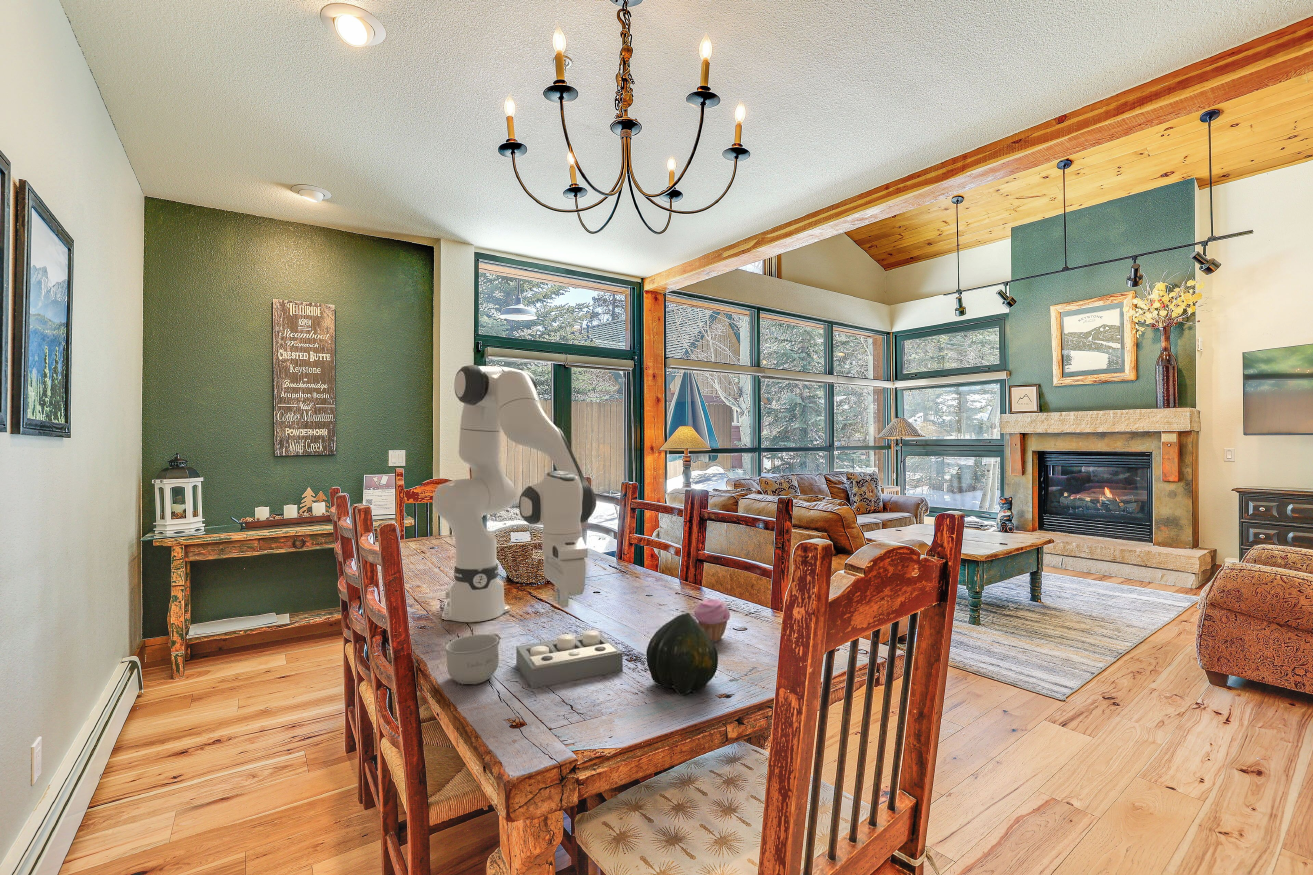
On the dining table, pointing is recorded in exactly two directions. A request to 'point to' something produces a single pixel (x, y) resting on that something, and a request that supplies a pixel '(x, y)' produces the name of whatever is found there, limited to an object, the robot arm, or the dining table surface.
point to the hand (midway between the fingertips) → (562, 605)
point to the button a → (539, 650)
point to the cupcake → (712, 617)
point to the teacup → (473, 658)
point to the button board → (568, 662)
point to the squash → (682, 655)
